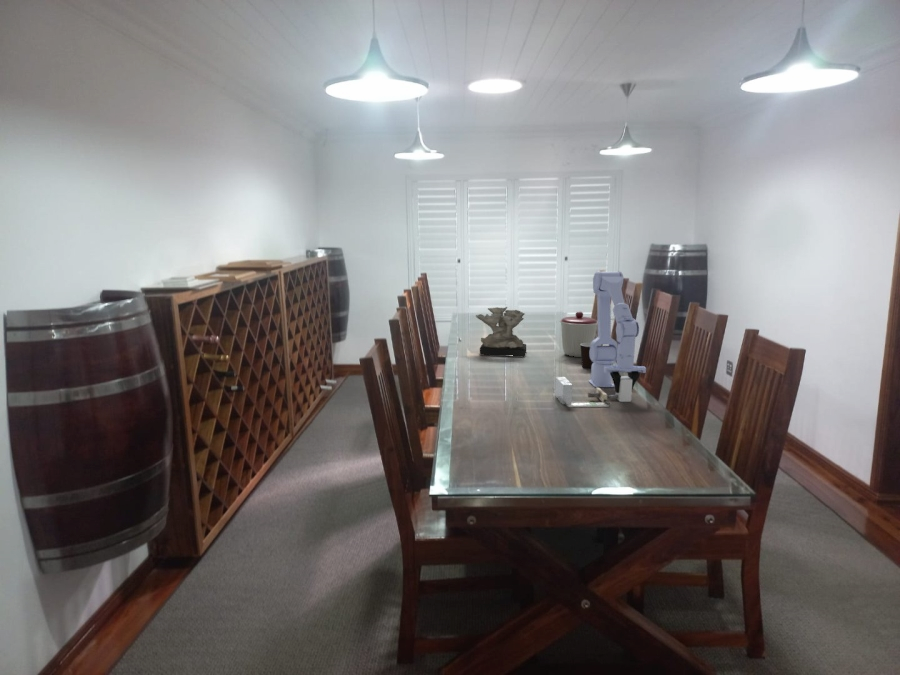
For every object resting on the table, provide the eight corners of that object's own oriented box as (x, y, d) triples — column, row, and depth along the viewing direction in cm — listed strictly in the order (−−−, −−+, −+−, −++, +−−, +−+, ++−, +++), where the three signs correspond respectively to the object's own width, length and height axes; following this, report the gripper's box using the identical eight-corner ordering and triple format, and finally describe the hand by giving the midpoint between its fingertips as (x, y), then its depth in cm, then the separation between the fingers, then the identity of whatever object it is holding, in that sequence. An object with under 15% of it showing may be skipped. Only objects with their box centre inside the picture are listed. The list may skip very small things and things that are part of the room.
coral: (472, 354, 282) (472, 310, 278) (479, 346, 302) (479, 305, 298) (524, 357, 277) (526, 312, 273) (528, 349, 297) (529, 306, 293)
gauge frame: (555, 395, 214) (555, 376, 213) (596, 395, 215) (597, 376, 213) (564, 407, 200) (565, 387, 199) (608, 406, 201) (610, 386, 200)
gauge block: (607, 397, 212) (608, 376, 210) (626, 397, 212) (627, 376, 211) (611, 401, 207) (612, 379, 205) (631, 401, 207) (632, 379, 206)
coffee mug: (585, 370, 253) (586, 347, 252) (575, 365, 262) (576, 343, 260) (609, 368, 256) (610, 346, 255) (599, 364, 265) (600, 342, 263)
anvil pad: (584, 395, 213) (585, 387, 213) (598, 395, 214) (599, 387, 213) (595, 406, 200) (596, 398, 200) (610, 406, 200) (611, 398, 200)
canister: (569, 349, 296) (571, 308, 292) (603, 354, 285) (605, 311, 281) (551, 355, 282) (553, 311, 278) (586, 360, 271) (588, 315, 267)
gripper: (609, 357, 202) (606, 395, 205) (650, 357, 203) (647, 395, 206) (602, 353, 209) (600, 389, 212) (642, 352, 210) (640, 389, 213)
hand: (623, 392), depth 209 cm, fingers closed on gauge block, 4 cm apart
